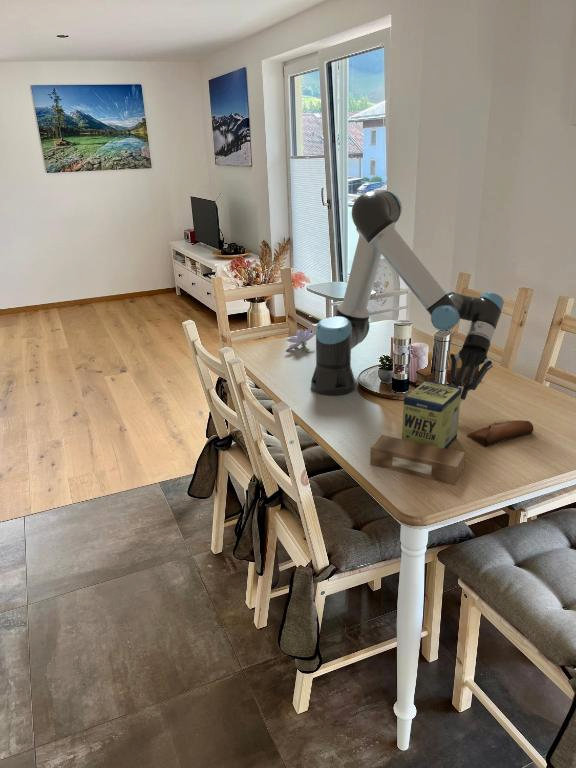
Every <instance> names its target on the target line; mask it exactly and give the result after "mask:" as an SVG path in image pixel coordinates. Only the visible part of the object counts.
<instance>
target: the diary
mask: <svg viewBox="0 0 576 768" xmlns="http://www.w3.org/2000/svg"><path fill="white" fill-rule="evenodd" d="M432 352H433V351H431V352H427V353H428V365H427V367H425V368H424V369H420V370H417V371H416V373H417V374H418V375H417V380H418V382H419V383H421V384H422V383H423V382H425V381H426V380H427V381H432V382H434V376H433V373H431V360H432ZM449 352H450V351H449ZM451 354H454V355H455V354H456V353H453V352H450V355H451ZM451 364H452V360H451V357H449V366H448V370H447V382H448V383H449V384H448V385H452V384H451V382H450V376H451ZM461 366H462V361H461V359H460V358H459V360H458V362H457V373H456V380H457V377H458V375H459V372H460V369H461ZM469 369H470V367H468V370H467V371H466V374H465V377H464V380H463V381H464V382H465V380H466V378H467V375H468V372H469ZM479 371H480V366H478V367H477V369H476V371H475V374H474V377H473V380H474V378H475V377H476V375H477V374H478V372H479Z"/></svg>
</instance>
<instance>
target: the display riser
mask: <svg viewBox="0 0 576 768" xmlns="http://www.w3.org/2000/svg"><path fill="white" fill-rule="evenodd" d="M369 456H370V458H369V459H370V461H369V464H370V465H371V466H375V467H378V468H379V467H380V468H383V469H386V468H387V470H390V471H395V472H399V473H403V474H408V475H411V476H416V477H420V478H424V479H429V480H432V481H436V482H440V483H445V484H449V485H454V486H456V484H457V483H458V481H459V480H460V477H461V475H462V473H463V472H464V468H465V467H464V466H465V457H466V452H464V451H459V450H454V449H450V448H447V449H445V448H441V447H436V446H431V445H427V444H422V443H418V442H413V441H408V440H404V439H402V438H397V437H394V436H389V435H384V434H381V435H380V436H379V437H378V438H377V439H376V441H375V442H374V443H373V444H372V445H371V447H370V455H369Z"/></svg>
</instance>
